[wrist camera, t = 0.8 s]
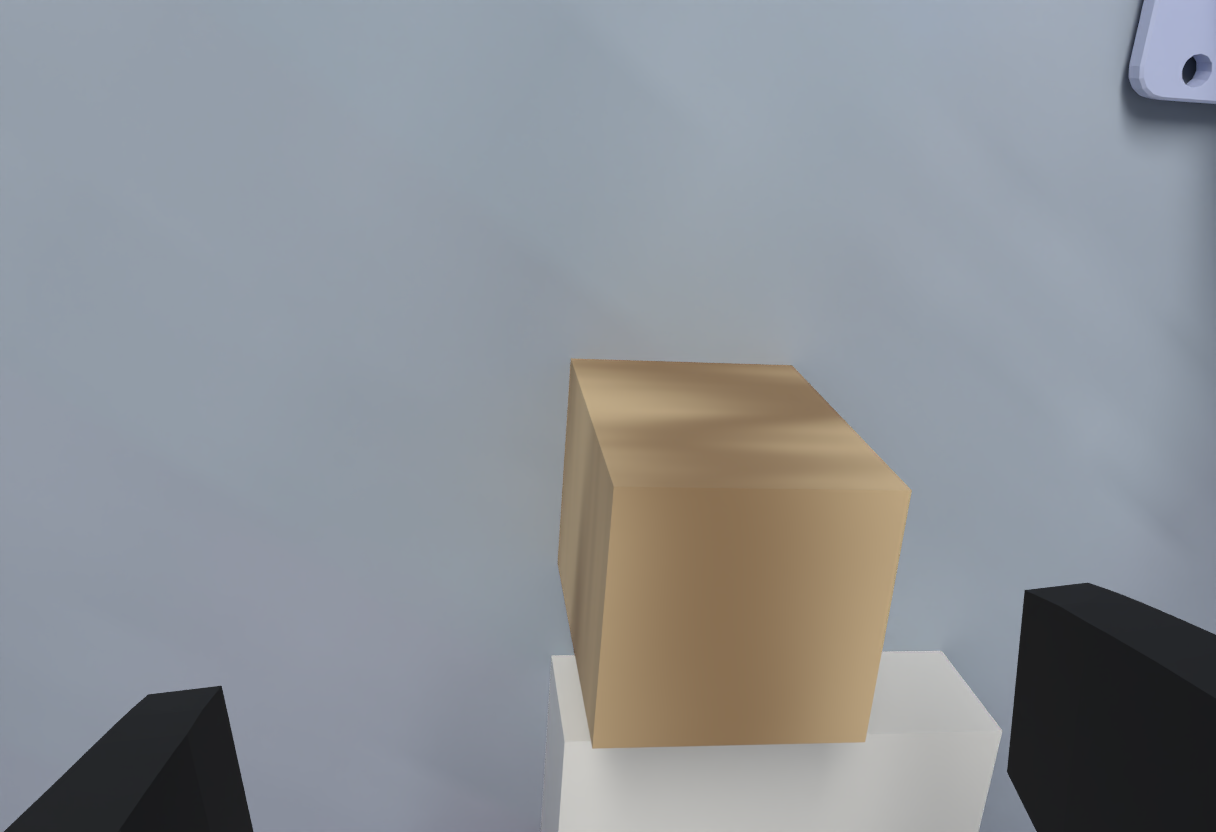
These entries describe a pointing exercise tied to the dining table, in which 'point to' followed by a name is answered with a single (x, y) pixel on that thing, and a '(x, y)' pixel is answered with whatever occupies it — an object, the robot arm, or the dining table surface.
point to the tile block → (785, 767)
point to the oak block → (723, 556)
